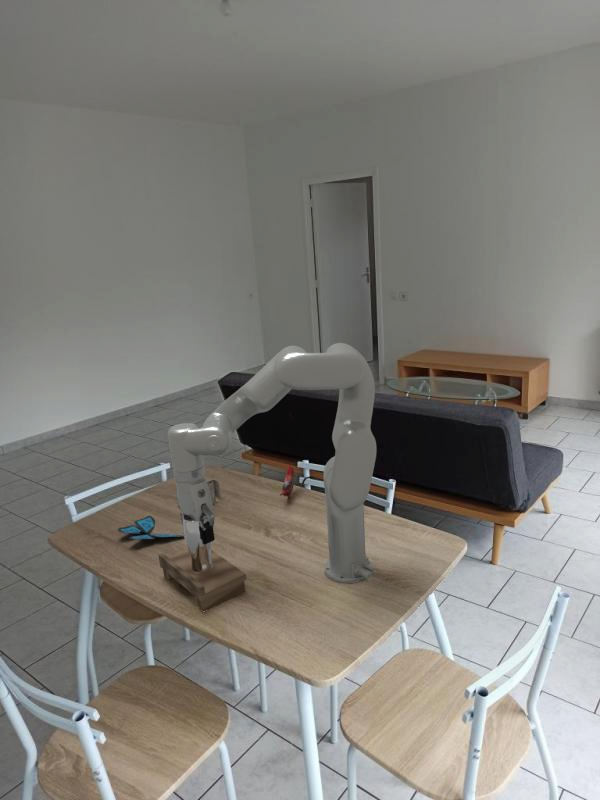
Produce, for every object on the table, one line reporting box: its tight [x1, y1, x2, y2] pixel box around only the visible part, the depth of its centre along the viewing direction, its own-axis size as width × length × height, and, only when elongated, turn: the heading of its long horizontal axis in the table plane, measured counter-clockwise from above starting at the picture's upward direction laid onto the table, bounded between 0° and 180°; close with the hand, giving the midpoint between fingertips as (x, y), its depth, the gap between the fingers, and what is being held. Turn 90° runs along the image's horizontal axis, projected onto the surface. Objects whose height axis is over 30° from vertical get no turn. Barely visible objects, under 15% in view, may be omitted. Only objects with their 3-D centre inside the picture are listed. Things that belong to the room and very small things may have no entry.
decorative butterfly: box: [117, 515, 184, 540], centre depth 178 cm, size 20×14×3 cm
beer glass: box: [181, 514, 214, 574], centre depth 148 cm, size 7×7×15 cm
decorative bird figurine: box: [279, 465, 295, 501], centre depth 195 cm, size 3×18×10 cm, turn 167°
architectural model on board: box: [207, 478, 222, 505], centre depth 196 cm, size 11×3×10 cm, turn 139°
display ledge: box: [157, 548, 248, 612], centre depth 151 cm, size 22×13×7 cm, turn 39°
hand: (198, 535), depth 148 cm, fingers open, 9 cm apart
